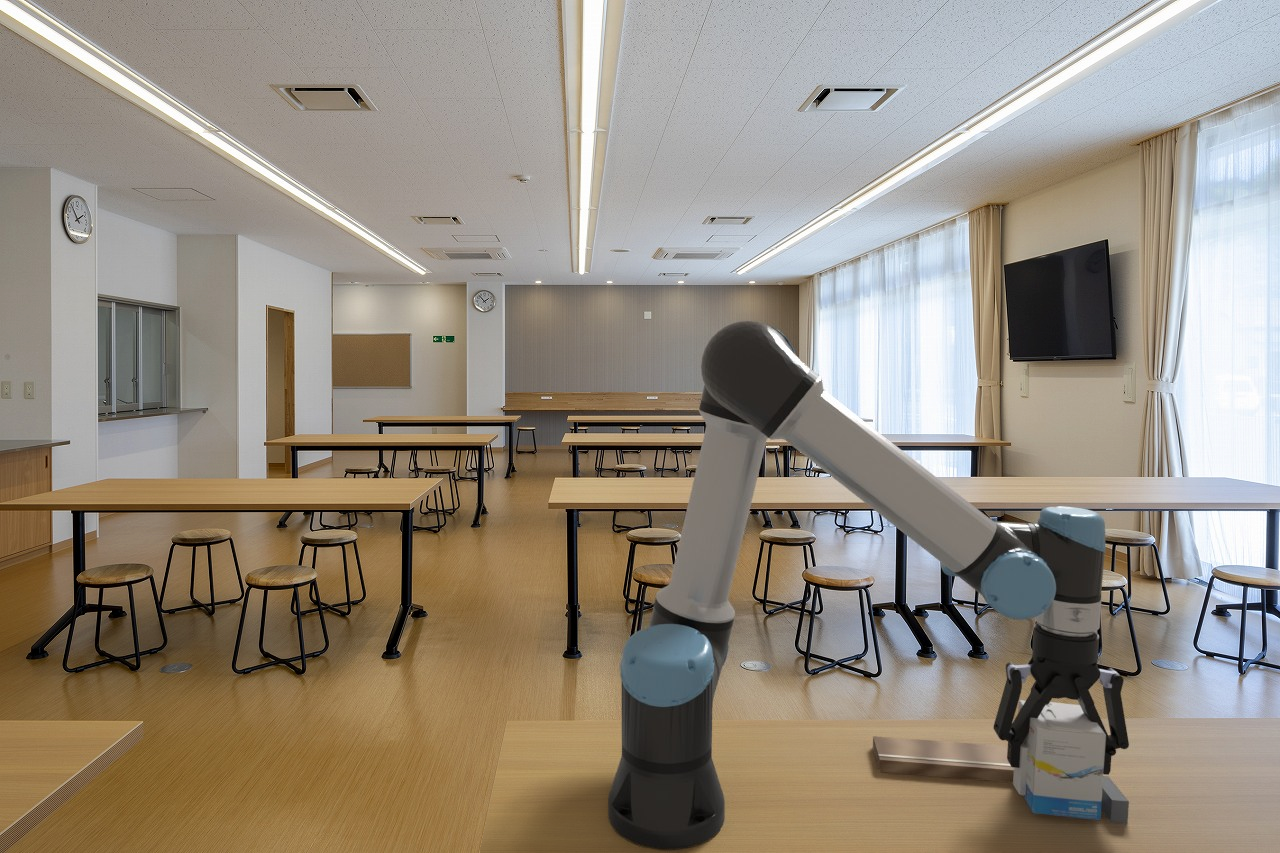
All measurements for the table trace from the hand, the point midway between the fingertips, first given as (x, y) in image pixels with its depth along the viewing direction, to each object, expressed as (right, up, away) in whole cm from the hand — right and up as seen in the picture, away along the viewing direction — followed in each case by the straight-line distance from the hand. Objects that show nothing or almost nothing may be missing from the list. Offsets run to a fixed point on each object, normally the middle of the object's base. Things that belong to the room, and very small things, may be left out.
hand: (1056, 792), depth 105 cm
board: (-8, -1, +10) cm, 12 cm away
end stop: (+7, -2, -1) cm, 7 cm away
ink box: (0, -1, 0) cm, 1 cm away
